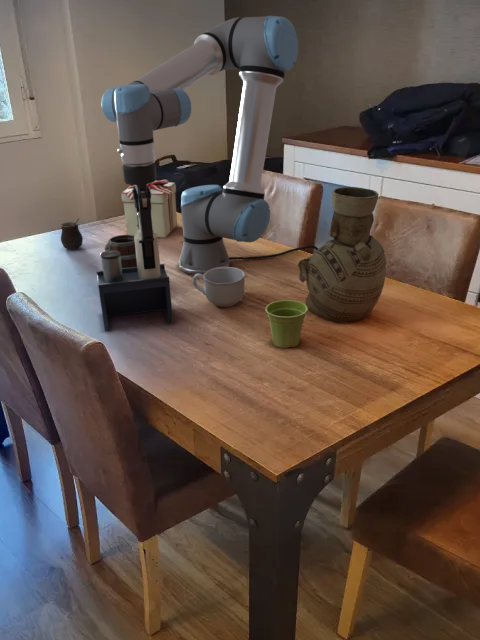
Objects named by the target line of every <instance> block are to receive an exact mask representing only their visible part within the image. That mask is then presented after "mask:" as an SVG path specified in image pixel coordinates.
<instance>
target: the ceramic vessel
mask: <svg viewBox="0 0 480 640" xmlns="http://www.w3.org/2000/svg"><path fill="white" fill-rule="evenodd" d="M378 199H379V192H378V191H376V190H374V189H369V188H364V187H357V186H344V187H337V188H334V189H333V190H332V192H331V206H332V210H333V214H332V218H331V222H330V230H329V231H328V233H327V234H328V236H329V237H330V238H333V239H330V240H327V241H326V242H325V243H324V244H323V245H322V246H320V247H318V250H316V249H315V251H314V252H313V253H312V255H310V256H308V257H307V258H303V259H301V260H299V261H298V262H297V267H298V269H299V277H298V280H299V281H300V282H301V283H306V288H307V290H308V294H307V296H306V298H305V302H304V304H305V305H306V306H307V307H308V311H309V312H310V313H312V314H313V315H315V316H316V317H319V318H321V319H323V320H325V321H329V322H333V323H337V324H352V323H357V322H360V321H363V320H364V319H366V318H367V317H368V316H369V315H370V314H371V313H372V311H373V310H374V308H375V307H376V305H377V303H378V301H379V299H380V297H381V296H382V295H381V294H382V293H383V289H384V286H385V280H386V275H387V274H386V273H387V262H386V260H387V259H386V253H385V249H384V247H383V245H382V243H380V241H379V240H378V239H376V238H375V237H374V236H373V235H371V230H372V227H373V224H374V221H375V218H374V217H375V216H374V214H373V213H374V211H375V210H376V206H377V203H378Z"/></svg>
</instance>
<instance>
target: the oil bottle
mask: <svg viewBox="0 0 480 640" xmlns="http://www.w3.org/2000/svg"><path fill="white" fill-rule="evenodd" d="M138 219H139V230H137V234H136V235H135V236H134V242H135V251H136V260H137V270H138V277H139V279H150V278H159V277H160V276H161V270H160V264H161V260H160V249H159V239H158V238H159V237H158V236H157V234H156V233H154V230H153V238H154V242H153V245H154V256H155V267H156V268H154V269H145V270H144V262H143V253H142V243H139V241H140V240H142V235H141V227H140V218H139V213H138Z"/></svg>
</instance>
